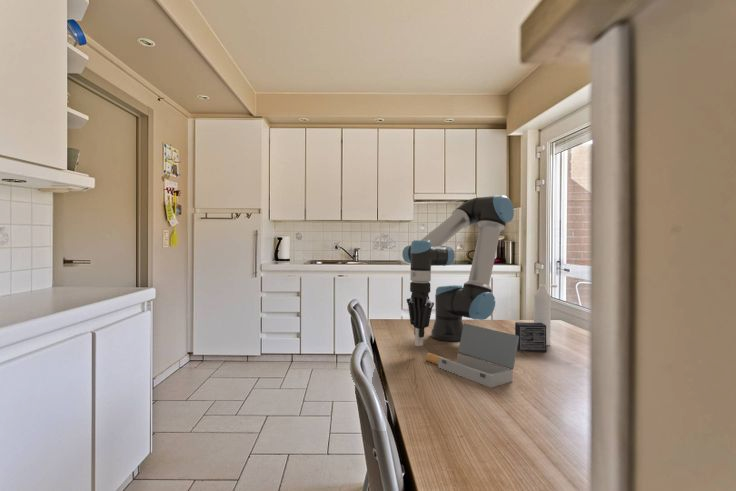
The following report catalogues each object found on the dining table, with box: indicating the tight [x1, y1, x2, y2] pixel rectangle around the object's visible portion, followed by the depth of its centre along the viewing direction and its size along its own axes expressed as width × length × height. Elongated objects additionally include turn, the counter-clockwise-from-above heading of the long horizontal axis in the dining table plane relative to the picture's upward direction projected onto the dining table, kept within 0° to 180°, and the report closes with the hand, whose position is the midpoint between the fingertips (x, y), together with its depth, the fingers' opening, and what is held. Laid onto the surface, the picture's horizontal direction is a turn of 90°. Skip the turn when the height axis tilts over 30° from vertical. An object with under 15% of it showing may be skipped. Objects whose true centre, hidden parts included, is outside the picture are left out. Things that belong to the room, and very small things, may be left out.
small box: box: [514, 321, 547, 353], centre depth 159 cm, size 11×6×10 cm, turn 84°
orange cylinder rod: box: [424, 352, 450, 366], centre depth 140 cm, size 10×3×3 cm
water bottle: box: [533, 283, 558, 347], centre depth 168 cm, size 9×6×25 cm
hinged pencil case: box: [437, 352, 514, 389], centre depth 129 cm, size 22×10×4 cm, turn 34°
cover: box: [458, 322, 519, 371], centre depth 133 cm, size 22×10×1 cm
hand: (418, 345), depth 149 cm, fingers closed
